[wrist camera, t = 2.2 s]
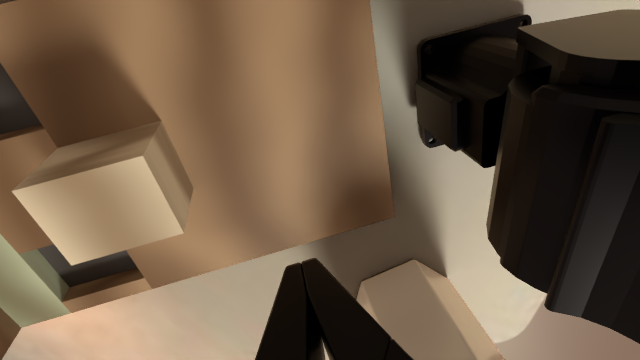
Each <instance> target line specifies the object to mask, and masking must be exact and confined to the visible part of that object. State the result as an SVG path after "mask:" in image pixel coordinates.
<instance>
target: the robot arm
mask: <svg viewBox="0 0 640 360" xmlns="http://www.w3.org/2000/svg"><path fill="white" fill-rule="evenodd" d="M521 21H522V22H523V23H522V26H521V27H519V24H520V22H521ZM531 24H532V20H531V17H530V16H529V15H525V14H518V15H514V16H511V17H507V18H503V19H499V20H495V21H492V22H488V23H484V24H480V25H476V26H472V27H469V28H465V29H461V30H457V31H453V32H450V33H446V34H442V35H438V36H434V37H431V38H427V39H424V40H422V41H421V42H420V43H419V45H418V48H417V57H418V75H419V79H418V81H417V82H416V101H417V117H418V123H419V124H420V125H421V129H422V141H423V143H424V144H425V145H426V146H427V147H429V148H433V147H437V146H440V145H444V144H445V145H446V146H447V147H449V148H450V149H451V150H453V151H455V152H456V151H459V150H461V151H462V152H464V153H465V154H466V155H467V156H469V157H470V158H471V159H473V160H474V161H475V162H477V163H478V164H479V165H480V166H482V167H483V168H488V167H492V166H495V173H494V179H493V186H492V192H491V198H490V205H489V211H488V218H487V224H486V225H487V233H488V239H489V241H490V242H491V244H492V246H493V247H494V249H495V250H496V252H497V254H498V255H499V256H500V257H501V258H500V263H501V265H502V266H503V267H504V268H505V269H507V270H508V271H509V272H510V273H512V274H513V275H514V276H515V277H517V278H518V279H520V280H522V281H523V282H525V283H527V284H529V285H530V286H532V287H534V288H536V289H538V290H540V291H542V292H545V293H547V297H546V301H545V304H544V305H545V307H546V308H547V309H548V310H550V311H553V312H558V313H562V314H567V315H572V316H576V317H581V318H584V319H586V320H589V321H592V322H594V323H597V324H600V325H602V326H605V327H608V328H610V329H612V330H614V331H616V332H618V333H620V334H622V335H624V336H626V337H628V338H630V339H632V340H634V341H635V342H637V343H639V344H640V10H615V11H609V12H604V13H598V14H592V15H586V16H580V17H574V18H569V19H563V20H557V21H551V22H545V23H539V24H533V25H531ZM427 45H430V50H429V51H428V52H427V53H425V48H426V46H427ZM431 137H433V140H432V141H430V142H429V139H430V138H431ZM322 340H323V341H322ZM323 343H324V346H325V349H326V352H327V354H328V357H329V359H330V360H414V359H413V358H412V357H411V356H410V355H409V354H408V353H407V352H406V351H405V350H404V349H403V348H402V347H401V346H400V345H399V344H398V343H397V342H396V341H395V340H394V339H392V338H391V336H390V335H389V334H388V333H387V332H386V331H385V330H384V329H383V328H382V327H381V326H380V324H379V323H378V322H377V321H376V320H375V319H374V318H373V317H372V316H371V315H370V314H369V313H368V312H367V311H366V310H365V309H364V308H363V307H362V306H361V305H360V304H359V303H358V301H357V300H356V299H355V298H354V297H353V296H352V295H351V294H350V293H349V292H348V291H347V290H346V289H345V288H344V287H343V286H342V285H341V284H340V283H339V282H338V281H337V279H336V278H335V277H334V276H333V275H332V274H331V273H330V272H329V271H328V270H327V269H326V268H325V267H324V266H323V265H322V264H321V263H320V262H319V261H318V260H317V259H316V258H312V259H309V260H305V261H303V262H302V263H295V264H292V265H289V266H287V267H286V268H285V271H284V274H283V277H282V280H281V283H280V286H279V289H278V292H277V295H276V298H275V301H274V304H273V307H272V310H271V313H270V316H269V319H268V322H267V325H266V328H265V331H264V334H263V337H262V340H261V343H260V346H259V349H258V352H257V355H256V358H255V360H325V354H324V347H323Z"/></svg>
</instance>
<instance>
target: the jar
mask: <svg viewBox="0 0 640 360" xmlns="http://www.w3.org/2000/svg"><path fill="white" fill-rule="evenodd" d="M356 300H357V301H358V303H359V304H360V305H361V306H362V307H363V308H364V309H365V310H366V311H367V312H368V313H369V314H370V315H371V316H372V317H373V318H374V319H375V320H376V321H377V322H378V323H379V324H380V326H381V327H382V328H383V329H384V330H385V331H386V332H387V333H388V334H389V335H390V336H391V338H392V339H394V340H395V341H396V342H397V343H398V344H399V345H400V346H401V347H402V348H403V349H404V350H405V351H406V352H407V353H408V354H409V355H410V356H411V357H412V358H413V359H414V360H505V358H504V357H503V356H502V354H501V353H500V351H499V350H498V349H497V347H496V346H495V344H494V343H493V341H492V340H491V338H490V337H489V336H488V334H487V333H486V331H485V330H484V328H483V327H482V326H481V324H480V323H479V321H478V320H477V319H476V317H475V316H474V314H473V313H472V311H471V310H470V309H469V307H468V306H467V304H466V303H465V301H464V300H463V299H462V297H461V296H460V294H459V293H458V291H457V290H456V289H455V287H454V286H453V284H452V283H451V282H450V280H449V279H448V278H446V277H444V276H442V275H441V274H439V273H437V272H436V271H434V270H432V269H430V268H429V267H427V266H425V265H423V264H422V263H420V262H418V261H417V260H411V261H408V262H406V263H404V264H401V265H399V266H397V267H394V268H392V269H390V270H388V271H385V272H383V273H381V274H378V275H376V276H374V277H371V278H369V279H367V280H364V281H362V282H361V285H360V288H359V292H358V295H357V299H356Z"/></svg>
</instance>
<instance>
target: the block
mask: <svg viewBox="0 0 640 360" xmlns="http://www.w3.org/2000/svg"><path fill="white" fill-rule="evenodd" d="M193 189H194V188H193V186H192V184H191V182H190V179H189V177H188V175H187V173H186V171H185V169H184V167H183V165H182V162H181V160H180V158H179V156H178V154H177V152H176V150H175V148H174V146H173V143H172V141H171V139H170V137H169V135H168V133H167V131H166V129H165V127H164V124H163V122H162V121H158V122H154V123H151V124H147V125H143V126H139V127H136V128H132V129H128V130H124V131H120V132H117V133H113V134H109V135H105V136H102V137H98V138H94V139H90V140H86V141H83V142H79V143H75V144H71V145H68V146H64V147H60V148H57V149H56V150H55V151H54V152H53V153H52V154H51V155H50V156H49V157H48V158H47V159H45V160H44V161H43V162H42V163H41V164H40V165H39V166H38V167H37V168H36V169H35V170H34V171H33V172H32V173H30V174H29V175H28V176H27V177H26V178H25V179H24V180H23V181H22V182H21V183H20V184H19V185H18V186H17V187H16V188H14V189H13V190H12V192H13V194H14V195H15V196H16V197H17V199H18V200H19V201H20V202H21V204H22V205H23V206H24V207H25V209H26V210H27V211H28V212H29V214H30V215H31V216H32V217H33V219H34V220H35V221H36V222H37V224H38V225H39V226H40V227H41V228H42V230H43V231H44V232H45V233H46V235H47V236H48V237H49V238H50V240H51V241H52V242H53V243H54V245H55V246H56V247H57V248H58V250H59V251H60V252H61V253H62V255H63V256H64V257H65V258H66V260H67V261H68V262H69V263H70V264H71V266H72V265H75V264H79V263H82V262H86V261H89V260H93V259H96V258H100V257H103V256H107V255H110V254H114V253H117V252H120V251H124V250H127V249H131V248H134V247H138V246H141V245H145V244H148V243H152V242H155V241H159V240H162V239H166V238H169V237H173V236H176V235H179V234H183V233H184V231H185V226H186V221H187V217H188V212H189V207H190V203H191V198H192V193H193Z"/></svg>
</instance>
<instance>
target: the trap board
mask: <svg viewBox="0 0 640 360" xmlns="http://www.w3.org/2000/svg"><path fill="white" fill-rule="evenodd" d="M158 121H162V122H163V124H164V127H165V129H166V131H167V133H168V135H169V137H170V139H171V141H172V143H173V146H174V148H175V150H176V152H177V154H178V156H179V158H180V160H181V162H182V165H183V167H184V169H185V171H186V173H187V175H188V177H189V179H190V182H191V184H192V186H193V188H194V189H193V193H192V198H191V203H190V207H189V212H188V217H187V221H186V226H185V231H184V233H183V234H179V235H176V236H173V237H169V238H166V239H162V240H159V241H155V242H152V243H148V244H145V245H141V246H138V247H134V248H131V249H127V250H124V251H120V252H117V253H114V254H110V255H107V256H103V257H100V258H96V259H93V260H89V261H86V262H82V263H79V264H75V265H72V266H71V264H70V263H69V262H68V261H67V260H66V258H65V257H64V256H63V255H62V253H61V252H60V251H59V250H58V248H57V247H56V246H55V245H54V243H53V242H52V241H51V240H50V238H49V237H48V236H47V235H46V233H45V232H44V231H43V230H42V228H41V227H40V226H39V225H38V224H37V222H36V221H35V220H34V219H33V217H32V216H31V215H30V214H29V212H28V211H27V210H26V209H25V207H24V206H23V205H22V204H21V202H20V201H19V200H18V199H17V197H16V196H15V195H14V194H13V192H12V190H13V189H14V188H16V187H17V186H18V185H19V184H20V183H21V182H22V181H23V180H24V179H25V178H26V177H27V176H28V175H29V174H30V173H32V172H33V171H34V170H35V169H36V168H37V167H38V166H39V165H40V164H41V163H42V162H43V161H44V160H45V159H47V158H48V157H49V156H50V155H51V154H52V153H53V152H54V151H55V150H56V149H57V148H60V147H64V146H68V145H71V144H75V143H79V142H83V141H86V140H90V139H94V138H98V137H102V136H105V135H109V134H113V133H117V132H120V131H124V130H128V129H132V128H136V127H139V126H143V125H147V124H151V123H154V122H158ZM393 217H395V215H394V207H393V198H392V190H391V181H390V172H389V164H388V155H387V147H386V138H385V129H384V121H383V112H382V104H381V95H380V86H379V78H378V69H377V61H376V52H375V43H374V35H373V26H372V18H371V9H370V0H16V1H11V2H7V3H3V4H0V360H2V358H3V357H4V355H5V353H6V352H7V350H8V348H9V347H10V345H11V344H12V342H13V340H14V339H15V337H16V336H17V334H18V332H19V331H20V329H21V328H22V327H26V326H29V325H32V324H36V323H39V322H42V321H46V320H49V319H53V318H56V317H59V316H63V315H66V314H69V313H73V312H76V311H79V310H83V309H86V308H90V307H93V306H96V305H100V304H103V303H106V302H110V301H113V300H117V299H120V298H123V297H127V296H130V295H133V294H137V293H140V292H143V291H147V290H150V289H154V288H157V287H160V286H164V285H167V284H170V283H174V282H177V281H181V280H184V279H187V278H191V277H194V276H197V275H201V274H204V273H207V272H211V271H214V270H218V269H221V268H224V267H228V266H231V265H234V264H238V263H241V262H245V261H248V260H251V259H255V258H258V257H261V256H265V255H268V254H271V253H275V252H278V251H282V250H285V249H288V248H292V247H295V246H298V245H302V244H305V243H309V242H312V241H315V240H319V239H322V238H325V237H329V236H332V235H335V234H339V233H342V232H346V231H349V230H352V229H356V228H359V227H362V226H366V225H369V224H373V223H376V222H379V221H383V220H386V219H389V218H393Z"/></svg>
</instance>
